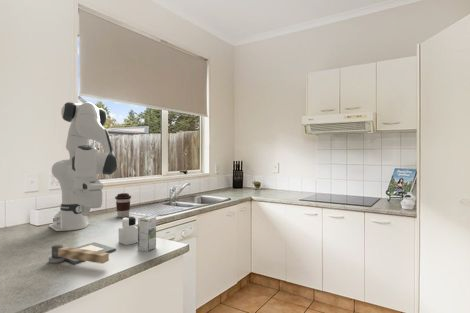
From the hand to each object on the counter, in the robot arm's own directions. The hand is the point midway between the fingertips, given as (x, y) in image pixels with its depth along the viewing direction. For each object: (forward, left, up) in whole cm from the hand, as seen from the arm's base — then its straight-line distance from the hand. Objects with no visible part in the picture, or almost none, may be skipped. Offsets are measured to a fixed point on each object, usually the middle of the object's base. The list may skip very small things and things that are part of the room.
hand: (85, 215), depth 125 cm
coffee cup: (-48, +54, -17) cm, 74 cm away
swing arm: (+9, -8, -14) cm, 19 cm away
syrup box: (+17, +18, -17) cm, 30 cm away
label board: (-1, -2, -16) cm, 16 cm away
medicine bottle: (+2, +20, -17) cm, 26 cm away
